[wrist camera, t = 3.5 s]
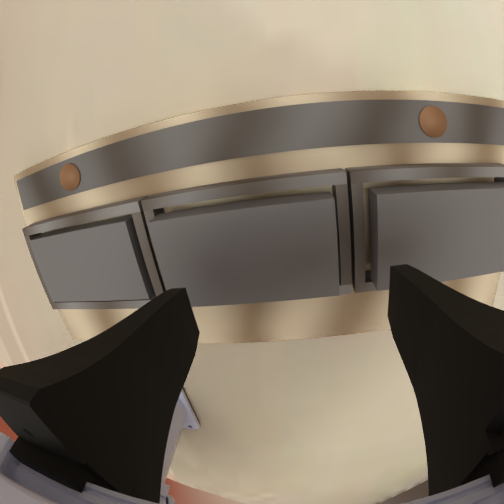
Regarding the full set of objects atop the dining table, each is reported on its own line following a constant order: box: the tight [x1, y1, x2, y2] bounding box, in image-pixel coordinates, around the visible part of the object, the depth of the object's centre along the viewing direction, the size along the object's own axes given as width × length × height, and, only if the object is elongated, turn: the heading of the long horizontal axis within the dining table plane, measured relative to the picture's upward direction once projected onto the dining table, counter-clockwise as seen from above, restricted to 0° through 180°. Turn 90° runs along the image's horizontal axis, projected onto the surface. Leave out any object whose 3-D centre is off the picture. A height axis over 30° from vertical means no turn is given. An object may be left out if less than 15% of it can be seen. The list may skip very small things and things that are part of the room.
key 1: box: [369, 182, 504, 291], centre depth 14 cm, size 9×5×2 cm, turn 99°
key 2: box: [29, 215, 155, 302], centre depth 18 cm, size 9×5×2 cm, turn 99°
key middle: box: [148, 192, 339, 307], centre depth 15 cm, size 9×5×2 cm, turn 99°
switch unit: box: [14, 91, 504, 344], centre depth 17 cm, size 35×15×3 cm, turn 99°
